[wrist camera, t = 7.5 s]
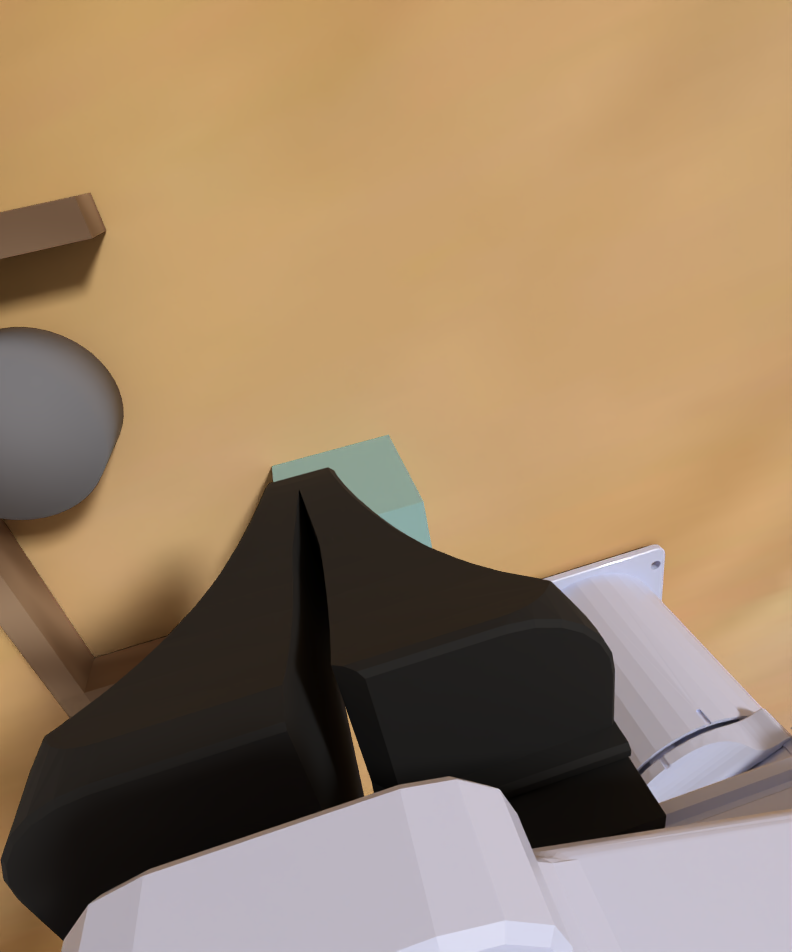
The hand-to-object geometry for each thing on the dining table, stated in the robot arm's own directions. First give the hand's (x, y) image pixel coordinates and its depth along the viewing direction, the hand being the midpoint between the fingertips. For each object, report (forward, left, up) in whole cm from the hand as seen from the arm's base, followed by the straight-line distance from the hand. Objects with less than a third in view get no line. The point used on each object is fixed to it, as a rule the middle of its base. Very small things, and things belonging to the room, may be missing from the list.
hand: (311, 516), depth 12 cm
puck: (+1, +8, -10) cm, 12 cm away
